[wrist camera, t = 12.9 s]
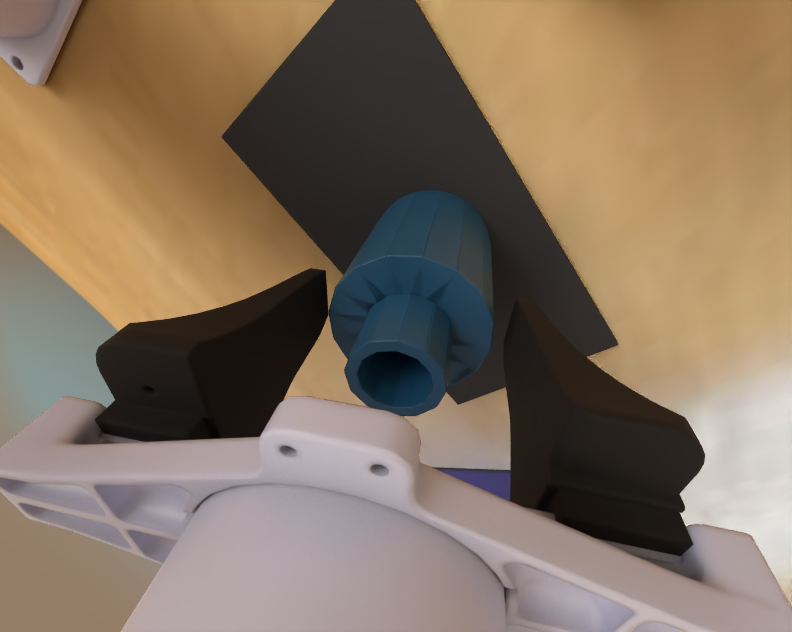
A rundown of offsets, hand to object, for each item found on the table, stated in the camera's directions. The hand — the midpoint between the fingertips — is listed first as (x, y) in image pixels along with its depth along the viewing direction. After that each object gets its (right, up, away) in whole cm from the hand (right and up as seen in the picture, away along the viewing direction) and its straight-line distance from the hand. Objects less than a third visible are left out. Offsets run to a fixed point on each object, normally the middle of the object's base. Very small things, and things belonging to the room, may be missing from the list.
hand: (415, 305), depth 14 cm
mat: (+1, +3, +5) cm, 6 cm away
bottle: (+1, +3, +4) cm, 5 cm away
